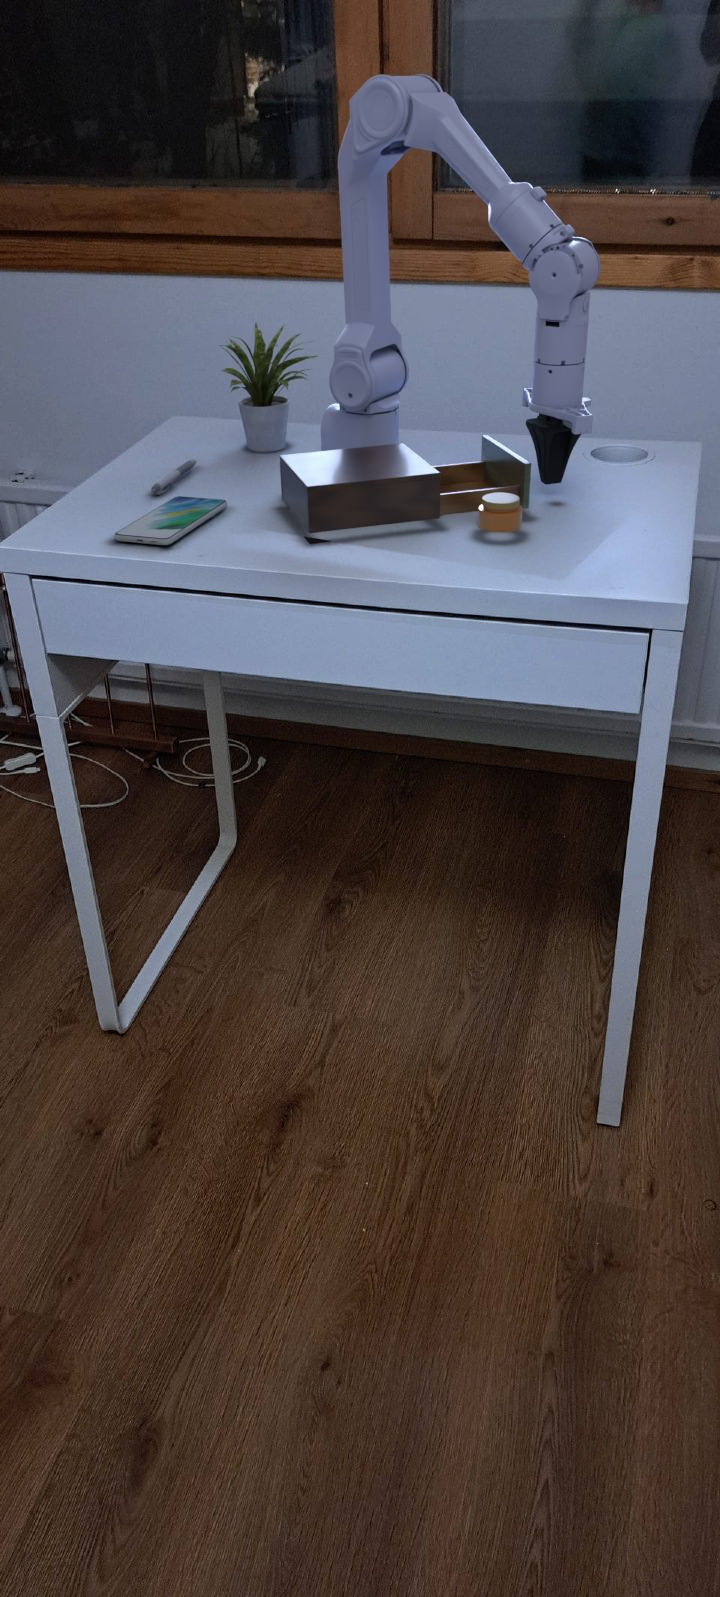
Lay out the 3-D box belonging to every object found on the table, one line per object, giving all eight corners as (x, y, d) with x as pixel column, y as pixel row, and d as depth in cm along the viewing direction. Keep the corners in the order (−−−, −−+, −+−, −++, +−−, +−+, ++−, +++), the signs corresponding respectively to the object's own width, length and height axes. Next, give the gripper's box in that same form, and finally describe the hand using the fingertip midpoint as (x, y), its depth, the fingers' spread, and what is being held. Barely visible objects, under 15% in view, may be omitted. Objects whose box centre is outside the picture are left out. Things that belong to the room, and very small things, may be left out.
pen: (149, 498, 143) (147, 486, 142) (192, 466, 154) (191, 456, 153) (156, 498, 143) (155, 487, 142) (199, 467, 154) (198, 456, 153)
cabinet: (403, 495, 142) (403, 443, 138) (439, 529, 131) (440, 472, 127) (282, 509, 138) (279, 455, 135) (309, 544, 127) (307, 486, 124)
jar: (470, 539, 128) (471, 501, 125) (487, 526, 131) (489, 489, 129) (511, 545, 126) (513, 507, 123) (527, 532, 129) (529, 494, 127)
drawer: (494, 483, 144) (496, 433, 141) (537, 515, 133) (541, 462, 130) (370, 497, 141) (369, 446, 137) (404, 530, 130) (404, 476, 126)
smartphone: (111, 534, 129) (176, 495, 140) (112, 542, 129) (177, 502, 141) (168, 540, 126) (229, 499, 138) (169, 547, 127) (230, 506, 139)
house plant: (273, 469, 153) (266, 338, 144) (192, 454, 159) (181, 328, 151) (334, 444, 163) (330, 320, 154) (256, 431, 169) (248, 312, 161)
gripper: (622, 370, 124) (610, 496, 131) (564, 346, 136) (556, 462, 143) (561, 375, 122) (553, 502, 129) (508, 350, 134) (503, 468, 141)
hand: (551, 482), depth 136 cm, fingers closed
